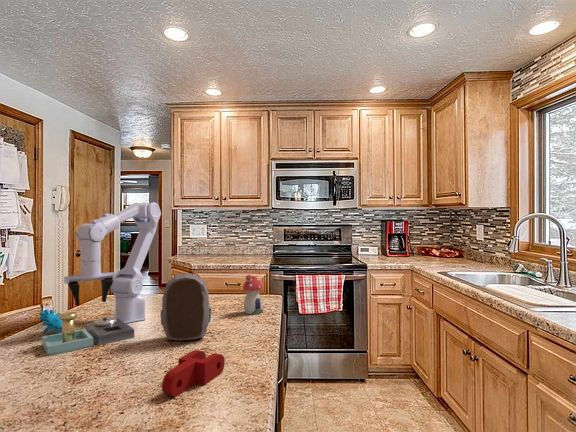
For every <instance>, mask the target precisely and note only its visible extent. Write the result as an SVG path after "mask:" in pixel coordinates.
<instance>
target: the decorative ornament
mask: <svg viewBox="0 0 576 432" xmlns="http://www.w3.org/2000/svg"><path fill="white" fill-rule="evenodd" d="M242 286H243V287H242V289H243V290H242V291H243V292H244V293H246V295H245V297H244V301H243V310H244V314H246V315H251V316H254V315H260V314H262V313H263V311H264V306H263V304H262V303H263V302H262V301H263V300H262V297H261V295H260V293H259V291H261V290H262V289H263V287H264V285H263V282H262V281H261V280H260V279H259V277H257V276H253V275H251V274H246V276H245V282H244V284H243V285H242Z"/></svg>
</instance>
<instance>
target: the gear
mask: <svg viewBox="0 0 576 432" xmlns="http://www.w3.org/2000/svg"><path fill="white" fill-rule="evenodd" d="M55 313H56V311H55V310H54V309H50V310H49V309H48V308H47V309H46V308H45V309H44V310H42V311H41V312H40V313H39V315H40V317H39V320H40V321H43V322H42V325H43V327H45V328H44V329H43V330H42V331H41V333H42V334H47V332H48V331H50V332H52V331H53V330H55V331H54V333H55V334H60V333H62V320H61V319H59V315H60V314H61V312H57V313H56V314H55Z"/></svg>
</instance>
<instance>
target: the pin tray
mask: <svg viewBox="0 0 576 432" xmlns="http://www.w3.org/2000/svg"><path fill="white" fill-rule="evenodd" d="M41 347H42V348H43V350H44V352H45V354H46V356H47V357H50V356H56V355H60V354H64V353H68V352H69V353H70V352H74V351H80V350H84V349H88V348H92V347H94V340H93V337H92V336H91V335H90V334H89V333H88V332H87V331H86V328H84V329H78V330H74V341H69V342H64V343H62V333H61V332H60V333H59V334H57V333H55V334H50V335H43V336H41Z"/></svg>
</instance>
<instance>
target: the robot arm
mask: <svg viewBox="0 0 576 432" xmlns="http://www.w3.org/2000/svg"><path fill="white" fill-rule="evenodd" d="M161 215H162V212H161V209H160V205H159V204H158V203H157V202H154V201H153V202H140V203H139V202H135V203H134V202H133V203H132V204H129V205H128V206H127V207H125V208H123V209H122V210H120V211H119V212H117V213H115V214H113V213H103V214H102V216H101V217H99V218H97V219H92V220H91V222H89V223H81V225H79V227H78V229H77V231H76V232H75V237H76V239H77V240H78V243H79V246H80V274H75V275H67V276H64V277H63V283H64V284H67V285H68V287H69V290H70V291H71V294H72V296H73V300H74V305H75V306H76V307H79V306H80V284H79V283H81V282H92V281H100V283H101V302H103V303H106V302H107V297H108V295H109V291H111V293H113V296H114V298H115V303H114V304H115V305H114V306H115V311H114V313H115V317H114V318H119V319H120V320H122V321H123V322H124V323H126V324H129V323H136V322H139V321H144V320H146V301H145V295H144V294H143V293H141V292H142V289H143V281H144V279H145V277H144V275H143V274H142V272H141V270H142V267H143V264H144V262H145V260H146V257H147V255H148V253H149V249H150V248H151V244H152V242H153V239H154V236H155V234H156V232H157V227H158V222H159V220H160V219H161ZM130 219H133V221H134V223H135V224H136V226H137V227H138V228H139V232H138V234H137V237H136V239H135V242H134V244H133V246H132V249H131V252H130V254H129V256H128V259H127V261H126V263H125V266H124V267H123V268H121V269H120V270H118V271H117V272H114V271H112V272H102V271H101V270H102V262H101V261H102V260H101V258H102V257H101V256H102V255H101V253H102V252H101V249H102V247H101V246H102V241H103V240H104V239H105V236H106V235H108V234H110V233H112V232H114V231H115V230H117V229H118V228H120V224H122V223H123V222H126V221H128V220H130Z"/></svg>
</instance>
